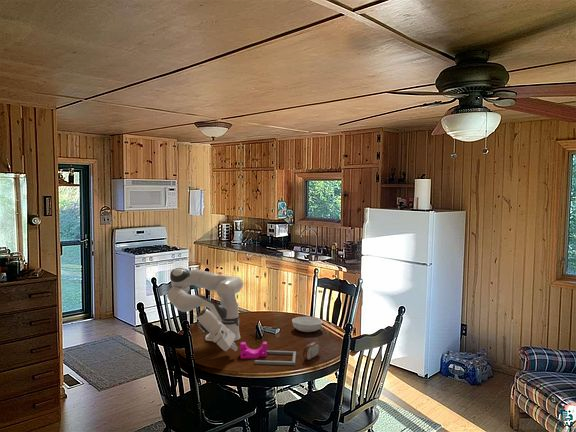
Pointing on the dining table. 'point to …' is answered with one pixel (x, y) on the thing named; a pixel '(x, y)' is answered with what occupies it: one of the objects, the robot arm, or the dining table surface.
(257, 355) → the toy block
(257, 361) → the frame
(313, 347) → the tin
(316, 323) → the serving bowl
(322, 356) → the dining table surface
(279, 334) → the dining table surface
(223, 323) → the robot arm
